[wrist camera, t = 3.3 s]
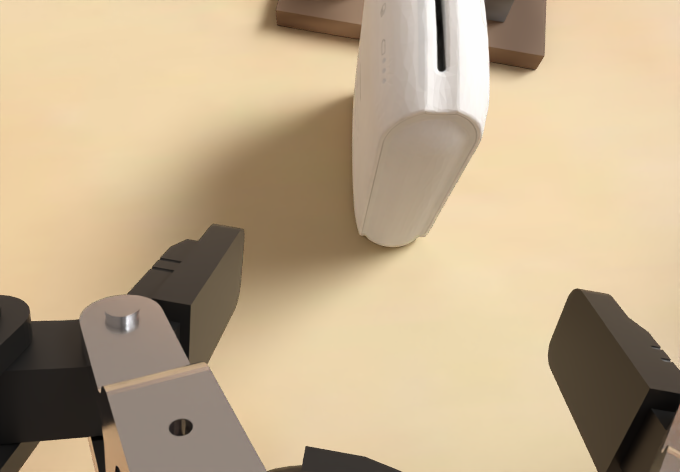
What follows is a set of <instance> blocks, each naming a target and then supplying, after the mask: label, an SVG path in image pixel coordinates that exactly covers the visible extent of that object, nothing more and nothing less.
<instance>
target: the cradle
mask: <svg viewBox="0 0 680 472" xmlns="http://www.w3.org/2000/svg"><path fill="white" fill-rule="evenodd" d="M484 4H485V12H486V22H487V33H488V49H489V62H495V63H501V64H507V65H513V66H518V67H524V68H530V69H537V67H538V65H539V64H540V62H541V61H542V59H543V57H544V53H545V23H546V0H484ZM363 9H364V0H278V4H277V8H276V17H277V25H280V26H286V27H291V28H297V29H303V30H309V31H315V32H320V33H326V34H332V35H338V36H344V37H350V38H355V39H360V34H361V26H362V18H363Z"/></svg>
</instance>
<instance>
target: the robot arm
mask: <svg viewBox="0 0 680 472" xmlns="http://www.w3.org/2000/svg"><path fill="white" fill-rule="evenodd" d="M243 250H244V230H243V229H240V228H234V227H229V226H223V225H217V224H212V225H211V226H210V227H209V228H208V230H207V231H206V232H205V233H204V235H203V236H202V237H201V238H200V240H199V241H195V240H189V239H187V240H184V241H182V242H180V243H178V244H176V245H173V246H171V247H170V248H169V249H168V250H167V251H166V252H165V253H164V254H163V256H162V257H161V258H160V260H158V261H157V262H156V263H155V264H154V265H153V266H152V269H150V270H149V271H148V272H147V273H146V274H145V275H144V276H143V277H142V279H141V280H140V281H139V282H138V283H137V284H136V285H135V286H134V287H133V288H132V289H131V291H130V292H129V293H128V294H127V295H117V296H111V297H107V298H103V299H100V300H98V301H96V302H94V303H92V304H90V305H89V306H88V307H86V308H85V309H84V310H83V311H82V313H81V315H80V319H78V320H65V321H31V317H30V309H29V306H28V305H27V304H26V303H25V302H24V301H22V300H21V299H18V298H15V297H11V296H5V295H0V472H18V471H19V470H20V468H21V467H22V466H23V464H24V463H25V461H26V460H27V459H28V457H29V456H30V455H31V453H32V452H33V450H34V449H35V448H36V446H37V445H38V443H39V442H40V441H47V440H58V439H70V438H81V437H88V441H89V446H90V450H91V455H92V459H93V463H94V468H95V472H401V471H399V470H396V469H394V468H392V467H389V466H387V465H384V464H382V463H379V462H377V461H374V460H372V459H369V458H367V457H363V456H358V455H352V454H347V453H341V452H336V451H330V450H325V449H319V448H314V447H308V446H306V447H305V453H304V458H303V464H302V465H300V466H288V467H282V468H276V469H272V470H269V471H266V469H265V467H264V466H263V464H262V462H261V460H260V458H259V456H258V455H257V453H256V451H255V449H254V447H253V446H252V444H251V442H250V440H249V438H248V437H247V435H246V433H245V431H244V429H243V427H242V426H241V424H240V422H239V420H238V418H237V417H236V415H235V413H234V411H233V409H232V408H231V406H230V404H229V402H228V400H227V398H226V397H225V395H224V393H223V391H222V389H221V388H220V386H219V384H218V382H217V380H216V379H215V377H214V375H213V373H212V371H211V370H210V368H209V366H208V365H207V364H208V362H209V360H210V358H211V356H212V354H213V352H214V350H215V348H216V346H217V344H218V342H219V340H220V338H221V336H222V334H223V332H224V330H225V328H226V326H227V324H228V322H229V320H230V318H231V316H232V314H233V312H234V310H235V308H236V305H237V301H238V297H239V292H240V285H241V274H242V262H243ZM670 360H671V359H670V358H669V357H668V356H667V354H666V353H665V352H664V351H663V350H660V346H659V345H658V343H657V342H656V341H655V340H654V339H653V337H652V336H651V335H650V334H649V332H647V331H646V330H645V329H643V328H642V327H641V326H639V325H638V324H637V323H635V322H634V321H633V320H631V319H630V318H628V316H627V315H626V314H625V313H624V311H623V310H622V309H621V307H620V306H619V305H618V304H617V302H616V301H615V300H614V299H613V297H612V296H611V295H609V294H605V293H599V292H594V291H588V290H582V289H574V290H573V291H572V292H571V293H570V295H569V296H568V299H567V301H566V304H565V306H564V309H563V311H562V314H561V316H560V319H559V321H558V324H557V326H556V328H555V331H554V333H553V336H552V338H551V341H550V344H549V350H548V362H549V366H550V369H551V371H552V373H553V375H554V378H555V380H556V382H557V384H558V386H559V388H560V391H561V393H562V395H563V397H564V399H565V401H566V404H567V406H568V408H569V410H570V412H571V414H572V417H573V419H574V421H575V423H576V425H577V427H578V430H579V432H580V434H581V436H582V438H583V440H584V443H585V445H586V447H587V449H588V451H589V453H590V456H591V458H592V460H593V462H594V464H595V466H596V469H597V471H598V472H680V370H679V369H678V368H677V367H676V365H675V364H674V363H673V362H670Z"/></svg>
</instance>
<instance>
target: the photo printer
mask: <svg viewBox="0 0 680 472" xmlns="http://www.w3.org/2000/svg"><path fill="white" fill-rule="evenodd" d="M488 105H489V49H488V33H487V22H486V12H485V4H484V0H364V9H363V18H362V26H361V34H360V43H359V51H358V59H357V68H356V78H355V88H354V99H353V124H352V172H353V198H354V212H355V219H356V224H357V228H358V232H359V235H365V236H366V237H367V238H368V239H369V240H370V241H372V242H374V243H376V244H379V245H382V246H387V247H399V246H404V245H407V244H409V243H411V242H413V241H414V240H415V239H416V238H418V237H425V236H426V235H427V234H428V233H429V231H430V229H431V228H432V226H433V224H434V222H435V220H436V218H437V217H438V215H439V213H440V211H441V209H442V208H443V206H444V204H445V203H446V201H447V199H448V197H449V196H450V194H451V192H452V190H453V188H454V187H455V185H456V183H457V182H458V180H459V178H460V176H461V175H462V173H463V171H464V170H465V168H466V166H467V164H468V163H469V161H470V159H471V157H472V155H473V154H474V152H475V151H476V149H477V147H478V145H479V143H480V141H481V138H482V135H483V131H484V126H485V120H486V116H487V112H488Z"/></svg>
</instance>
